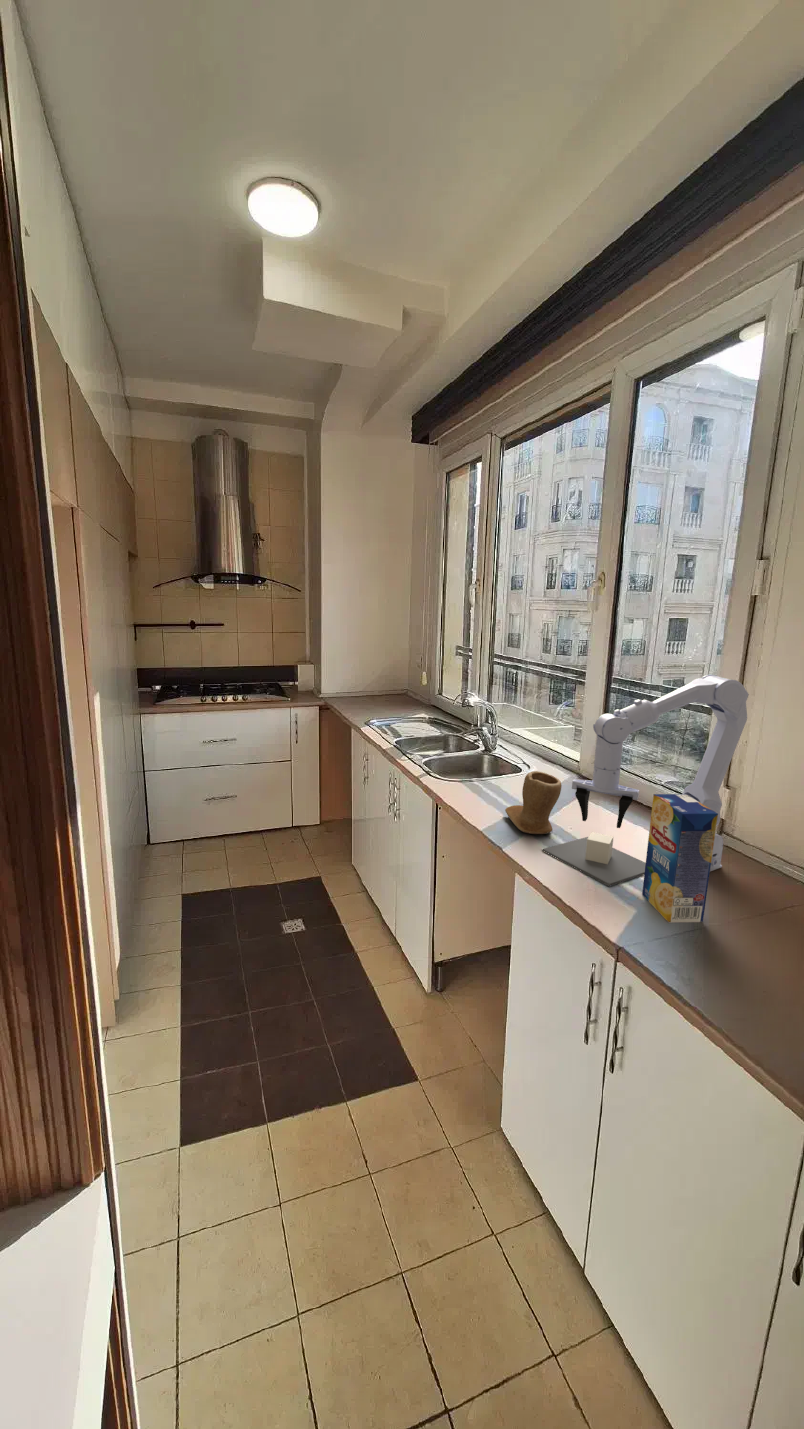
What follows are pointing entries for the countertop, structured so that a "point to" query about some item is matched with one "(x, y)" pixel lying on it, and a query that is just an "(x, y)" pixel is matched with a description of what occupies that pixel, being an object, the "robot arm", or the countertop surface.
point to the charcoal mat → (609, 874)
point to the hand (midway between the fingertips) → (601, 823)
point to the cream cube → (599, 848)
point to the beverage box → (679, 857)
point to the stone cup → (536, 803)
